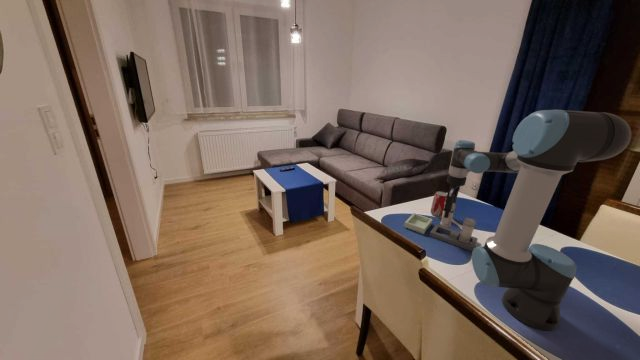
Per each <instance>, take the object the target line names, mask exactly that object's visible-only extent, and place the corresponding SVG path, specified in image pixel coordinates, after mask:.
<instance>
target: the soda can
mask: <svg viewBox="0 0 640 360" xmlns="http://www.w3.org/2000/svg"><path fill="white" fill-rule="evenodd" d="M446 199H447V192H445V191H442V190H441V191H440V190H439V191H435V193H434V195H433V199H432V202H431V203H432V204H431V207H430V213H431V214H432V215H433V216H434V217H436V218H437V217H438V218H440V217H441V218H442V215H443V209H444V205H445V202H446Z"/></svg>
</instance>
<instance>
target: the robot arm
mask: <svg viewBox="0 0 640 360" xmlns="http://www.w3.org/2000/svg"><path fill="white" fill-rule="evenodd" d="M629 125H630V124H628V122H627V121H626V120H625V119H624V118H622V117H620V116H618V115H617V114H613V113H610V112H605V111H604V112H602V111H600V112H599V111H584V110H583V111H582V110H578V111H577V110H569V109H568V110H565V109H564V110H563V109H546V110H545V109H543V110H537V111H534V112H532V113H530V114H528V116H526V117H524V118H523V119H522V120H521V121H520V122H519V124H518V125H517V127H516V129H515V131H514V132H513V136H512V146H511V147H512V151H508V152H492V151H491V152H490V151H478V150H476V148H475V147H476V143H475V142H474V141H471V140H470V141H469V140H461V139H460V140H457V141H456V142H455V145H454V147H453V152H452V156H451V160H450V164H449V168H448V174H447V176H446V177H447V178H446V182H447V183H448V185H449V184H450V186H449V187H448V189H447V192H446V193H447V199H446V203H445V207H444V209H443V210H444V215H443V219H442V218H441V219H442V223H445V224H448V222H449V218H450V214H451V208H452V205H453V203H455V204H456V205H457V203H456V202H457V198H458V195H459V192H460V188H461V187H464V186H465V185H466V181H467V177H468V173H470V172H471V173H473V174H483V173H485V172H496V173H497V172H498V173H509V174H517V175H516V178H515V180H514V183H513V186H512V189H511V190H510V191H511V192H510V194H509V197H508V198H507V201H506V205H505V208H504V210H503V212H502V215H501V218H500V220H499V223H498V226H497V228H496V230H495V234H494V235H492V236H489V237H487V239H486V241H485V243H484V245H483V246H482V245H478V246H475V248H474V250H473V252H472V251H471V252H472V253H471V262H472V263H471V264H472V268H473V271H474V273H475V277H476V278H477V279H478V281H479V282H481V283H482V284H483V285H486V286H491V287H494V288H506V290H505V291H504V292H503V294H502V297H501V302H502V305H503V307H504V309H505V310H506V311H507V312H508V313H509V314H510V315H511V316H512V317H513V318H515V319H516V320H518V321H519V322H520V323H523V324H524V325H526V326H529V327H531V328H533V329H536V330H541V331H553V330H556V329H557V328H558V327H559V324H560V323H561V302H562V300H563V299H564V297H565V295H566V293H567V291H568V289H569V287H570V285H571V284H572V282H573V279H574V280H575V274H576V273H577V269H578V266H577V264H576V263H575V262H574V260H573V259H572V258H570V257H569V256H568V255H567V254H565V253H563V252H562V251H559V250H557V249H555V248H554V247H551V246H548V245H544V244H541V243H532V241H533V239H534V237H535V235H536V233H537V231H538V228H539V226H540V224H541V221H542V219H543V217H544V216H545V213H546V211H547V209H548V206H549V204H550V202H551V200H552V198H553V195H554V193H555V192H556V188H557V187H558V185H559V182H560V180H561V178H562V176H563V175H566V174H568V173H571V172H573V171H574V170H575V167H576V165H577V163H578V162H579V163H590V162H596V161H602V160H607V159H611V158H613V157H616V156H618V155H619V154H621V153H623V151H624V150H626V149H627V147H628V145H630V142H631V139H632V131H631V130H632V129H631V127H630V126H629Z"/></svg>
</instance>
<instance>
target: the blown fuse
mask: <svg viewBox="0 0 640 360" xmlns="http://www.w3.org/2000/svg"><path fill="white" fill-rule="evenodd" d="M445 203H446V202H445ZM456 205H457V203H456V204H455V203H453V205H452V208H451V214H450V218H449V222H448V224H445V223H442V219H443V215H444V210H443V215H442V216H441V220H440V222H439V225H440V226H441V227H443V228H449V229H451V226H452V220H453V217H454V213H455V209H456V207H457V206H456ZM444 207H445V205H444Z"/></svg>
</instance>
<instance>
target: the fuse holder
mask: <svg viewBox="0 0 640 360" xmlns="http://www.w3.org/2000/svg"><path fill="white" fill-rule="evenodd" d="M475 225H476V220H475V219H474V218H472V217H471V218H469V217H465V218H464V220H463V224H462V226H461V231H458V230H454V229H453V228H452V229H451V228H443V227H441V226H440V224H437V223H436V224H435V225H434V227H432V229H431V230H430V232H429V236H430V237H431V238H432V237H433V238H435V239H436V240H439V241H443V242H445V243H448V244H450V245H454V246H457V247H459V248H461V249H464V250H467V251H469V252H473V250H474V248H476V244H477V243H478V237H475V236H472V234H473V231H474V230H475V229H474V228H475V227H476V226H475ZM438 231H439V232H440V233H439V232H438ZM443 233H444V234H443ZM445 234H447V235H448V236H447V235H445Z"/></svg>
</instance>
